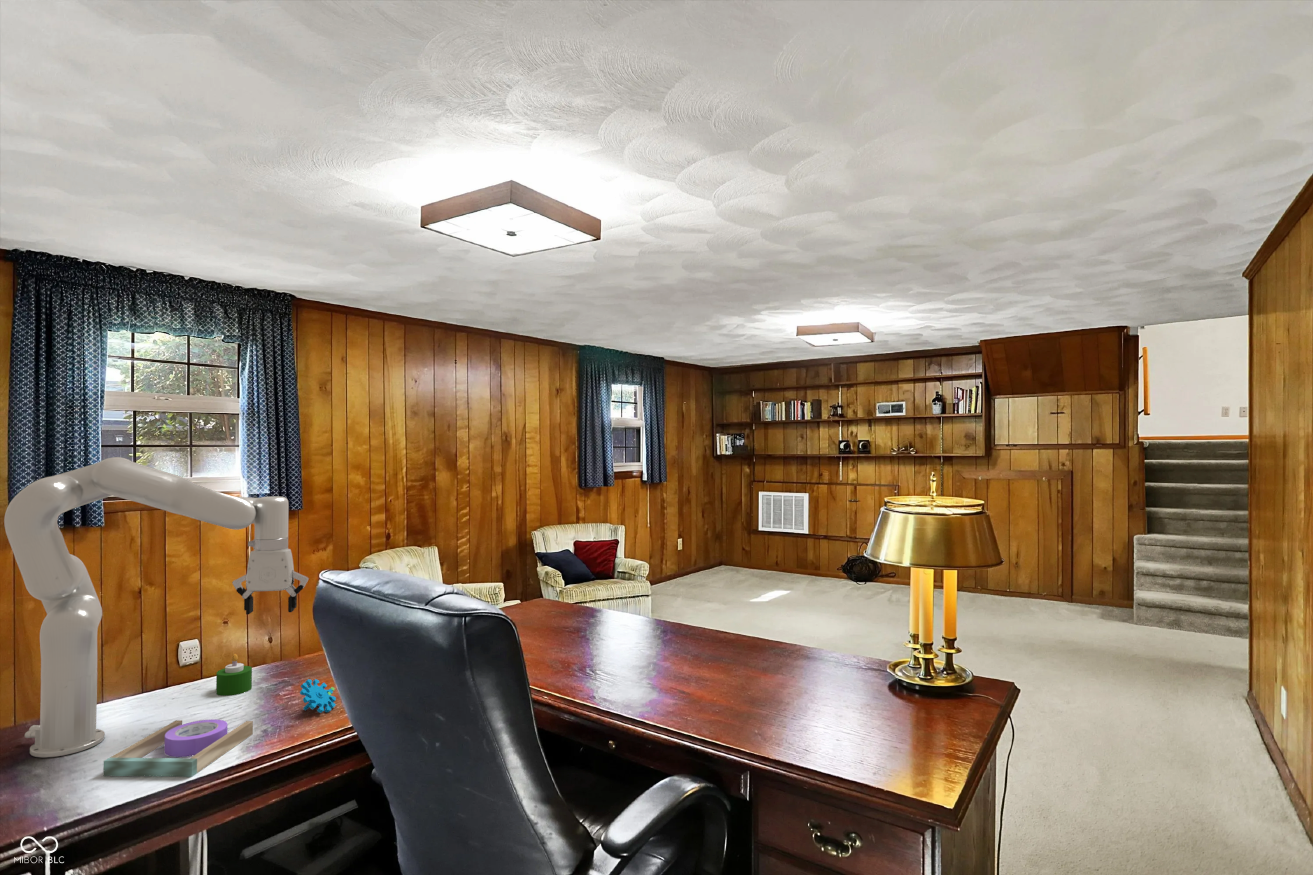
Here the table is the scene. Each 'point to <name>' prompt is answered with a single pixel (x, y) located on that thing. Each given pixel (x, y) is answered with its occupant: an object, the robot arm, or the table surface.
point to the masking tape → (193, 737)
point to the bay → (135, 765)
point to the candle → (234, 679)
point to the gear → (317, 696)
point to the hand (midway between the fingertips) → (270, 612)
